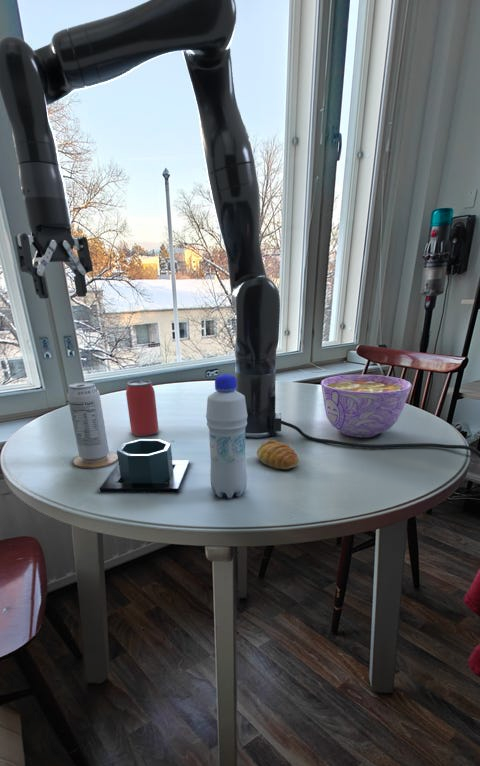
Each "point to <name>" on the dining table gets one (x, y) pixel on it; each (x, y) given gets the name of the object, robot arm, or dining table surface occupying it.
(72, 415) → the energy drink can
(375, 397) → the bowl of food
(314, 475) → the dining table surface
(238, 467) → the bottle
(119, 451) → the can holder
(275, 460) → the pastry
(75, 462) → the cork coaster
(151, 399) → the beer can
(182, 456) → the dining table surface
